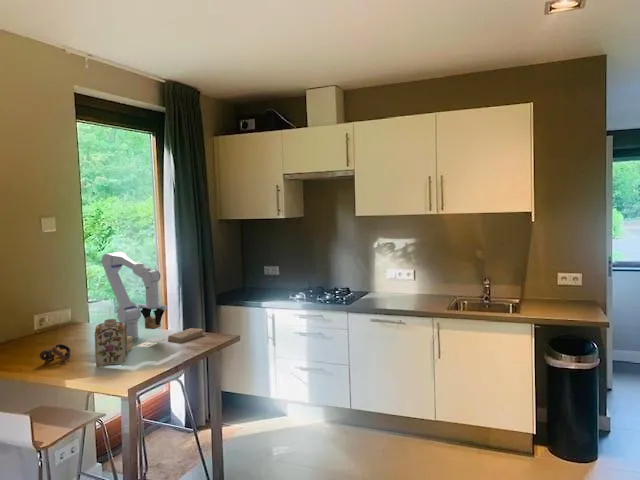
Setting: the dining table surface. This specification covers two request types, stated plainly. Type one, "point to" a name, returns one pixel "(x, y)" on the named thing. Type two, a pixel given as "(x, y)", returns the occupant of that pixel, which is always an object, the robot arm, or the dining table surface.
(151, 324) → the walnut block
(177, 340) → the brick
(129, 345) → the oak block
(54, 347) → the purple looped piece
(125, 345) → the decorative jar
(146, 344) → the board
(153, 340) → the pad
